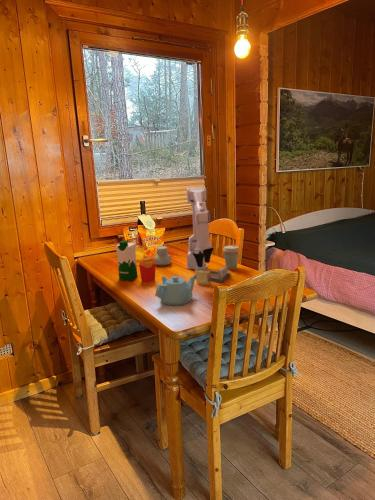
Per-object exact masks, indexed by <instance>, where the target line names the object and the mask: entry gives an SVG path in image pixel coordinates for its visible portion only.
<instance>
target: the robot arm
mask: <svg viewBox="0 0 375 500" xmlns="http://www.w3.org/2000/svg"><path fill="white" fill-rule="evenodd" d="M186 197H187V198H186V199H187V204H190V205H191V207H192V208H191V209H192V230H193V231H192V233H193V234H192V235H190V236H189V238H188V252H187V254H186V269H189V270H190V269H191V270H195V268H196V267H202V266H203V263H206V268H208V267H209V265H207V264H209V263H210V261H211V258H212V254H213V251H214V247H212V245H213V244H212V242H210V225H209V224H210V222H211V214H210V210H208V209H207V204H206V203H205V202H206V199H207V188H206V187H205V186H203V187H201V186H200V187H187V188H186Z"/></svg>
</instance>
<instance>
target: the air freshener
mask: <svg viewBox="0 0 375 500" xmlns="http://www.w3.org/2000/svg"><path fill="white" fill-rule="evenodd" d="M156 251H157V252H156V254H155V255H154V257H155V258H156V262H155V263H156V266H161V267H163V266H168V265H170V264H171V262H172V256H171V255H170V254H168V252H169V251H168V247H167V246H164V245H163V246H158V247H157V248H156Z"/></svg>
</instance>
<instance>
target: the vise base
mask: <svg viewBox="0 0 375 500" xmlns="http://www.w3.org/2000/svg"><path fill="white" fill-rule="evenodd" d="M206 265H207V263H203V266H202V267H196V268H195V269H194V270H195V274H194V275H193V276H192V277H195V280H196V272H197V271H199V270H203V271H210V272H211V282H214V283H219V284H223V283H225V281H227V280H228V279H229V278H231V277H232V273H230V272H228V274H227V275H226V276H225V277H223V278H218V270H210V269H209V270H208V269H207V267H206Z"/></svg>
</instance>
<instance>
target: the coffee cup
mask: <svg viewBox="0 0 375 500" xmlns="http://www.w3.org/2000/svg"><path fill="white" fill-rule="evenodd" d="M222 251H223V256H224V263H225V265H224V266H227V267H228V271H235V270H237V267H238V260H239V252H240V248H239V246H238V245H233V244H230V245H225V246H224V247H223V249H222Z"/></svg>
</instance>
